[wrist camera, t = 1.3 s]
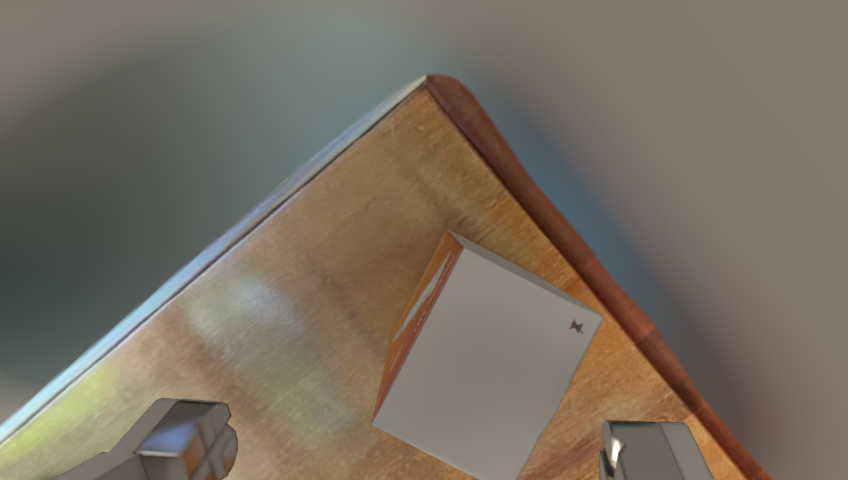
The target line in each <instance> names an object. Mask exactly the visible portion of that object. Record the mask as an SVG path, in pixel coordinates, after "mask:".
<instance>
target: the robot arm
mask: <svg viewBox="0 0 848 480" xmlns="http://www.w3.org/2000/svg"><path fill="white" fill-rule="evenodd" d="M230 417H231V413H230V409H229V406H228V404H226V403H224V402H218V401H205V400H191V399H171V398H161V399H159V400H156V401H155V402H154V403H153V404H152V405H151V406H150V407H149V408H148V410H147V411H146V412H145V413H144V414H143V415H142V416H141V417H140V419H139V420H138V421H137V422H136V423H135V424H134V425H133V426H132V427H131V429H130V430H129V431H128V432H127V433H126V434H125V435H124V436H123V438H122V439H121V440H120V441H119V442H118V443H117V444H116V445H115V446H114V448H113V449H112V450H111V451H110V452H102V453H100V454H98V455H96V456H94V457H93V458H91V459H89V460H87V461H85V462H83V463H82V464H80V465H78V466H76V467H74V468H72V469H71V470H69V471H67V472H65V473H63V474H61V475H59V476H58V477H56V478H54V479H52V480H222V479H224V478H225V477H226V476H228V474H229V472H230V471H231V469H232V467H233V465H234V462H235V459H236V455H237V451H238V439H237V435H236V431H235V430H234V429H233V428H232V427H231V426H230V425H229V424H228V423H227V422H228V421H229V419H230ZM602 437H603V441H604V445H605V448H603V449H602V450H601V451H600V457H599V479H600V480H714V478H713V476H712V474H711V472H710V470H709V468H708V466H707V464H706V461H705V459H704V457H703V455H702V453H701V451H700V449H699V447H698V445H697V443H696V441H695V439H694V437H693V435H692V433H691V431H690V429H689V427H688V426H687V425H686V424H685V423H684V422H657V423H656V422H646V421H620V420H605V422H604V424H603V430H602Z"/></svg>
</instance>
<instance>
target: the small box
mask: <svg viewBox="0 0 848 480" xmlns="http://www.w3.org/2000/svg"><path fill="white" fill-rule="evenodd" d="M603 318H604V317H603V316H602V315H601V314H599V313H598V312H596V311H594V310H593V309H591V308H590V307H588V306H586V305H585V304H583V303H581V302H580V301H578V300H576V299H575V298H573V297H571V296H570V295H568V294H566V293H565V292H563V291H562V290H560V289H559V288H557V287H555V286H554V285H552V284H551V283H549V282H547V281H546V280H544V279H542V278H540V277H539V276H537V275H535V274H533V273H531V272H530V271H528V270H526V269H524V268H522V267H520V266H518V265H516V264H515V263H513V262H511V261H509V260H507V259H505V258H503V257H501V256H499V255H497V254H495V253H493V252H492V251H490V250H488V249H486V248H484V247H482V246H480V245H478V244H476V243H474V242H472V241H470V240H468V239H466V238H464V237H462V236H460V235H458V234H456V233H454V232H452V231H450V230H448V229H445V230H444V232H443V235H442V237H441V239H440V241H439V243H438V246H437V248H436V250H435V252H434V254H433V256H432V258H431V260H430V262H429V264H428V266H427V268H426V270H425V272H424V274H423V276H422V278H421V280H420V282H419V284H418V286H417V288H416V289H415V291H414V293H413V295H412V297H411V299H410V301H409V303H408V305H407V307H406V308H405V310H404V312H403V314H402V316H401V318H400V320H399V322H398V323H397V325H396V327H395V329H394V331H393V333H392V334H391V337H390V341H389V346H388V351H387V356H386V360H385V365H384V369H383V374H382V379H381V383H380V388H379V392H378V396H377V401H376V405H375V410H374V415H373V418H372V421H371V425H372V426H374V427H376V428H378V429H380V430H382V431H384V432H386V433H388V434H390V435H392V436H394V437H396V438H398V439H400V440H402V441H404V442H406V443H408V444H410V445H412V446H414V447H416V448H418V449H420V450H421V451H423V452H425V453H427V454H429V455H431V456H433V457H435V458H437V459H439V460H441V461H443V462H445V463H447V464H449V465H451V466H453V467H455V468H457V469H459V470H460V471H462V472H464V473H466V474H468V475H470V476H472V477H474V478H476V479H478V480H517V479H518V477H519V475H520V473H521V472H522V470H523V468H524V466H525V464H526V463H527V461H528V459H529V458H530V456H531V454H532V452H533V450H534V448H535V447H536V445H537V443H538V441H539V440H540V438H541V436H542V434H543V432H544V431H545V429H546V427H547V426H548V424H549V423H550V421H551V419H552V418H553V416H554V415H555V413H556V412H557V410H558V408H559V406H560V404H561V402H562V401H563V398H564V396H565V394H566V392H567V391H568V389H569V387H570V384H571V382H572V379H573V377H574V375H575V373H576V371H577V369H578V367H579V365H580V364H581V362H582V360H583V358H584V356H585V354H586V352H587V350H588V348H589V346H590V344H591V342H592V341H593V339H594V337H595V335H596V333H597V331H598V329H599V328H600V326H601V324H602V322H603Z"/></svg>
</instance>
